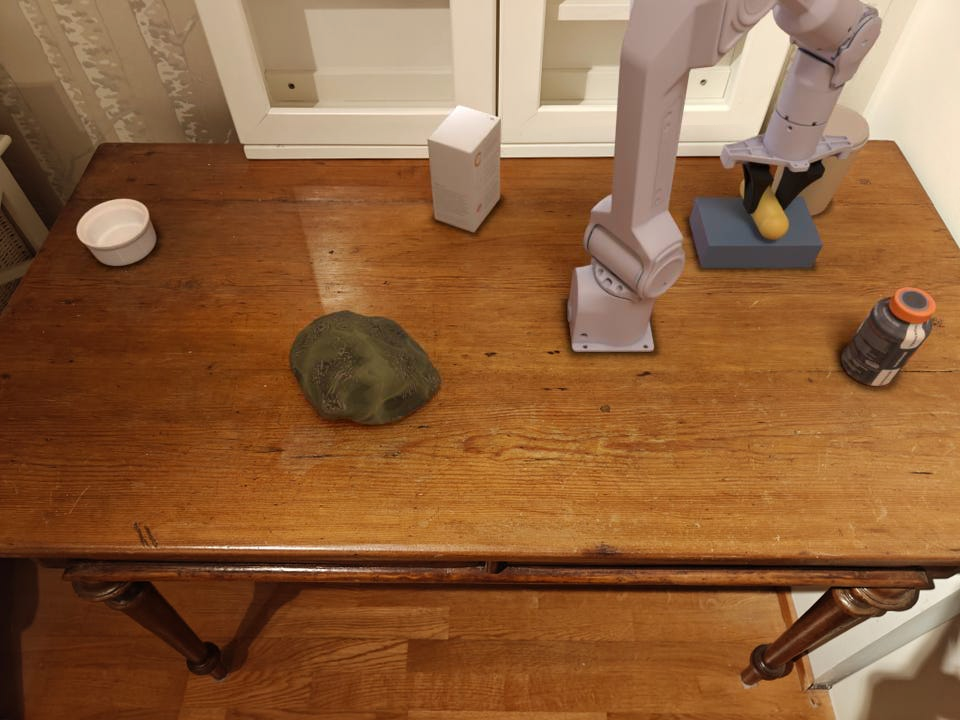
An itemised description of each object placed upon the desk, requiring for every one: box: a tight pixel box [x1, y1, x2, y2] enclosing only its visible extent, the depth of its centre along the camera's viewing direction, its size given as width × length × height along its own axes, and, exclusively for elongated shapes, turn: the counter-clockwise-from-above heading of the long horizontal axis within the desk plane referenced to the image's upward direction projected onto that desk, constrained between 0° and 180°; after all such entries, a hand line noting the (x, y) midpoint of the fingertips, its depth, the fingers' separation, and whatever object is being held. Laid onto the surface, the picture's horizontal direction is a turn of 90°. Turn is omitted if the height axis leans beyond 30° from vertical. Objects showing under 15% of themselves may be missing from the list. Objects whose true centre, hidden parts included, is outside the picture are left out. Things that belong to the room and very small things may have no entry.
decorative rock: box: [288, 309, 442, 426], centre depth 75 cm, size 15×16×10 cm
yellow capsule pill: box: [739, 179, 789, 240], centre depth 87 cm, size 10×3×3 cm, turn 6°
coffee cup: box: [770, 103, 870, 217], centre depth 92 cm, size 9×9×12 cm
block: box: [688, 196, 824, 269], centre depth 90 cm, size 14×9×4 cm, turn 90°
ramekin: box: [75, 198, 157, 267], centre depth 91 cm, size 9×9×4 cm
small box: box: [426, 105, 502, 233], centre depth 91 cm, size 8×6×13 cm
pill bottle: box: [840, 286, 937, 387], centre depth 75 cm, size 6×6×11 cm
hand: (763, 207), depth 87 cm, fingers closed on yellow capsule pill, 3 cm apart
